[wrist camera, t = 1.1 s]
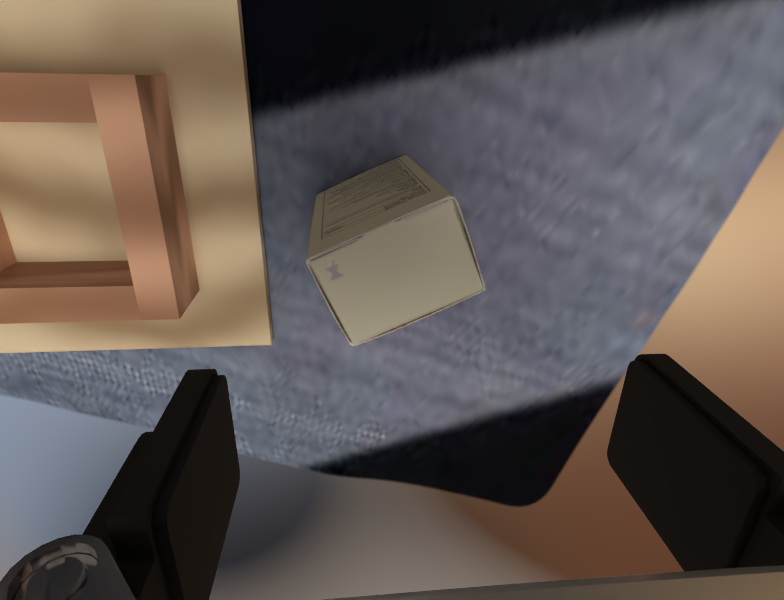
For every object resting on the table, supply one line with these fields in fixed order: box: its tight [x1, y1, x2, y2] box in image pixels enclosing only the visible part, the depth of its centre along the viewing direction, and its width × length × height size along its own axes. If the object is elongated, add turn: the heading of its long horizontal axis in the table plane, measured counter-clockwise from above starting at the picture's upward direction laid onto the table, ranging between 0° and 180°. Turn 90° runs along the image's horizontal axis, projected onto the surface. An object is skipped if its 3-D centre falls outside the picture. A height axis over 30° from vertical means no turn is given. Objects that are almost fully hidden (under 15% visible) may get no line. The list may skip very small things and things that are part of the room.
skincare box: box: [306, 155, 485, 346], centre depth 24 cm, size 6×4×12 cm
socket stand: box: [0, 0, 273, 353], centre depth 25 cm, size 20×20×5 cm
